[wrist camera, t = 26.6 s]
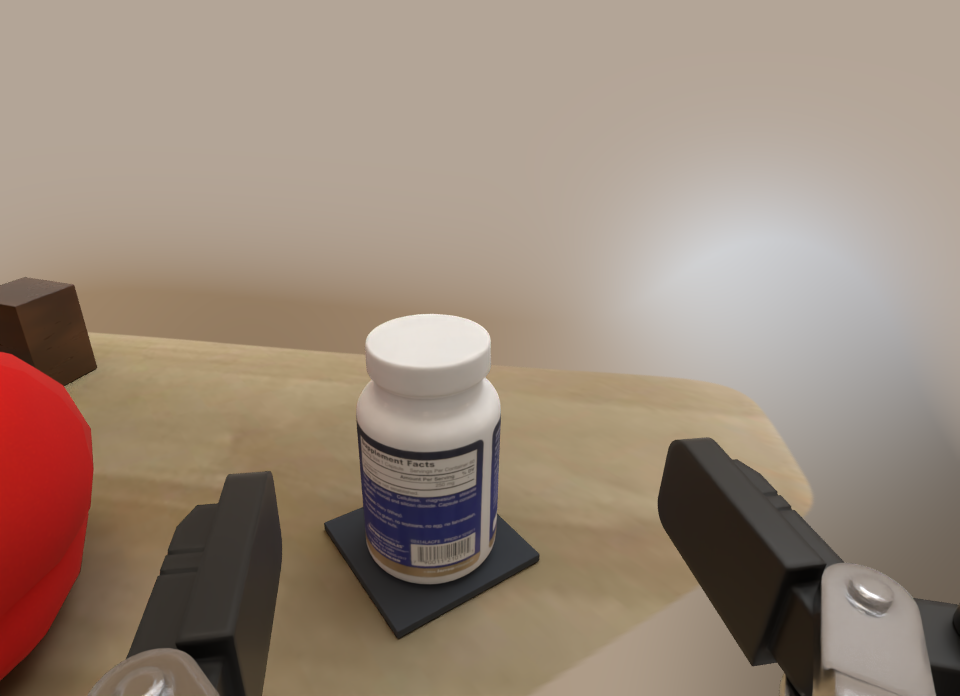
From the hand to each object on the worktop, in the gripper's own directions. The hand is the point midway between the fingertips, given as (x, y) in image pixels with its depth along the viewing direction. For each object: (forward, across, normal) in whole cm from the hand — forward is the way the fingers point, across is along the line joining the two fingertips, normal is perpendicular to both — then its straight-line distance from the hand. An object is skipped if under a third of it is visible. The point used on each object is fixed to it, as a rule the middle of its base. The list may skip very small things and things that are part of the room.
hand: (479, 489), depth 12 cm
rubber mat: (+11, 0, +12) cm, 16 cm away
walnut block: (+30, +23, +12) cm, 39 cm away
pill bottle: (+11, 0, +12) cm, 16 cm away
